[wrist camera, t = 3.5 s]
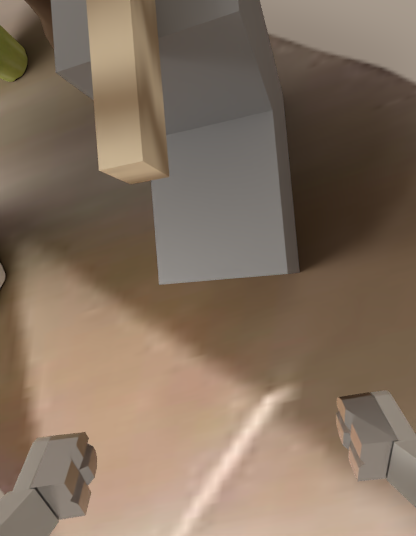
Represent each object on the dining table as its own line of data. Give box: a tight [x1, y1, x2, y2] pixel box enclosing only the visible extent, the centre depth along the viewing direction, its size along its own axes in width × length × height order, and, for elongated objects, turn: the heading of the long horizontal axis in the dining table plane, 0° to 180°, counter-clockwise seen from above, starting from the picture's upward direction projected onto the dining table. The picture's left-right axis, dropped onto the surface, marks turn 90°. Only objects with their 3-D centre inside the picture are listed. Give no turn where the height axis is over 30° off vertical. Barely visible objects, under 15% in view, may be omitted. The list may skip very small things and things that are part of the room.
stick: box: [86, 0, 169, 184], centre depth 19 cm, size 19×2×3 cm, turn 5°
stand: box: [51, 0, 300, 285], centre depth 32 cm, size 22×12×26 cm, turn 5°
